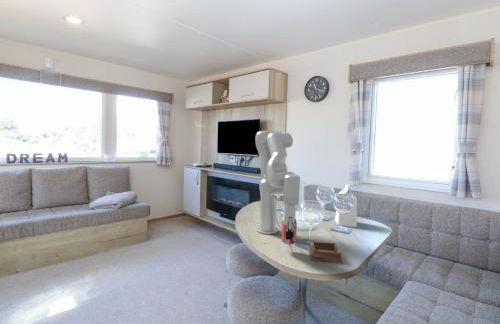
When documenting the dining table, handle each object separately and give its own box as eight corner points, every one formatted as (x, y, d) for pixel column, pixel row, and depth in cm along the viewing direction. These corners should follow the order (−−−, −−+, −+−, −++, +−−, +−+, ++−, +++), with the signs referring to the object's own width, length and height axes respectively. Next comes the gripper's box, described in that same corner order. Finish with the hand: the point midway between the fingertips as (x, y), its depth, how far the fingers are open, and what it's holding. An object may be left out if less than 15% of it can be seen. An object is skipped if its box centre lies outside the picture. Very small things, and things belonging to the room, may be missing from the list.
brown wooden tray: (308, 248, 132) (308, 240, 132) (336, 250, 131) (337, 242, 130) (311, 260, 118) (311, 252, 118) (343, 263, 117) (343, 254, 116)
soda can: (294, 239, 131) (295, 216, 129) (297, 245, 124) (298, 221, 122) (280, 239, 130) (281, 216, 129) (282, 245, 123) (283, 221, 122)
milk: (356, 226, 168) (359, 187, 165) (338, 225, 170) (340, 186, 167) (352, 221, 180) (354, 184, 177) (335, 219, 181) (337, 183, 179)
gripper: (283, 195, 134) (281, 228, 136) (283, 204, 116) (280, 242, 118) (297, 196, 133) (295, 229, 135) (300, 205, 115) (297, 244, 118)
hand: (288, 235), depth 127 cm, fingers closed on soda can, 7 cm apart
